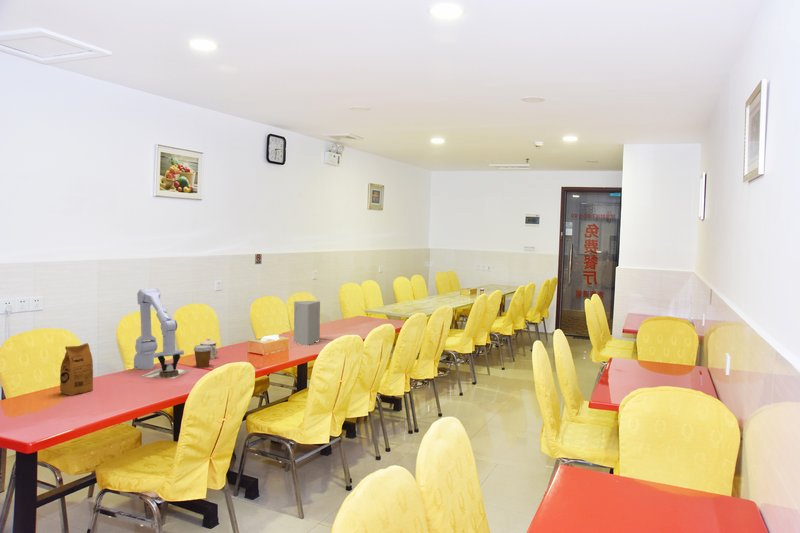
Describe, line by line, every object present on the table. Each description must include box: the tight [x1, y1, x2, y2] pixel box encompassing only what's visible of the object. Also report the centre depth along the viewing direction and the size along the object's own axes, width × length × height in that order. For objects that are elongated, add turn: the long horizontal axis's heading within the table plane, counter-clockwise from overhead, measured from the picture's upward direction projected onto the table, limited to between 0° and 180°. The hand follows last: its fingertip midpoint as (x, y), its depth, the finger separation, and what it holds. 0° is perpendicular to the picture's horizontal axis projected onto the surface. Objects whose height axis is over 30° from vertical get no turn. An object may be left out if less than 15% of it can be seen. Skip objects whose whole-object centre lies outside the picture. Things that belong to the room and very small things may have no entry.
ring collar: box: [159, 369, 179, 379], centre depth 296 cm, size 9×9×2 cm
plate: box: [139, 368, 191, 379], centre depth 300 cm, size 18×18×1 cm
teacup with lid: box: [199, 337, 219, 360], centre depth 342 cm, size 12×9×12 cm
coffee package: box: [59, 342, 94, 396], centre depth 266 cm, size 10×12×22 cm
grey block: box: [293, 300, 321, 346], centre depth 395 cm, size 19×15×28 cm
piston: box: [164, 362, 174, 373], centre depth 296 cm, size 4×4×6 cm
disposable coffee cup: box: [193, 344, 212, 368], centre depth 318 cm, size 10×10×12 cm
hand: (169, 369), depth 296 cm, fingers open, 5 cm apart
